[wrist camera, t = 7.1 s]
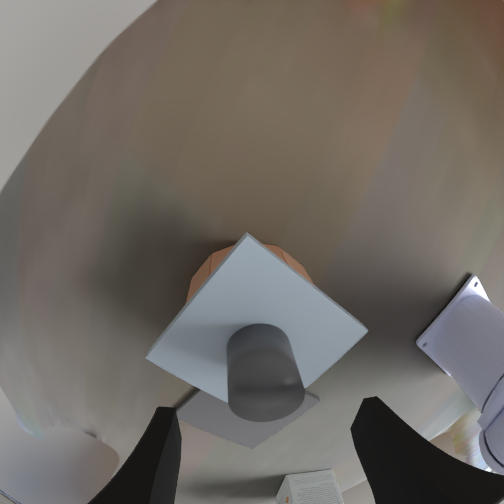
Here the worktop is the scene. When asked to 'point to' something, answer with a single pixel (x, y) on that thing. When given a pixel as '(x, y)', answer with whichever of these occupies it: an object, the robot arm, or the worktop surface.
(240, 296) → the lid
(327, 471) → the small box
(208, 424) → the mat
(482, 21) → the worktop surface
